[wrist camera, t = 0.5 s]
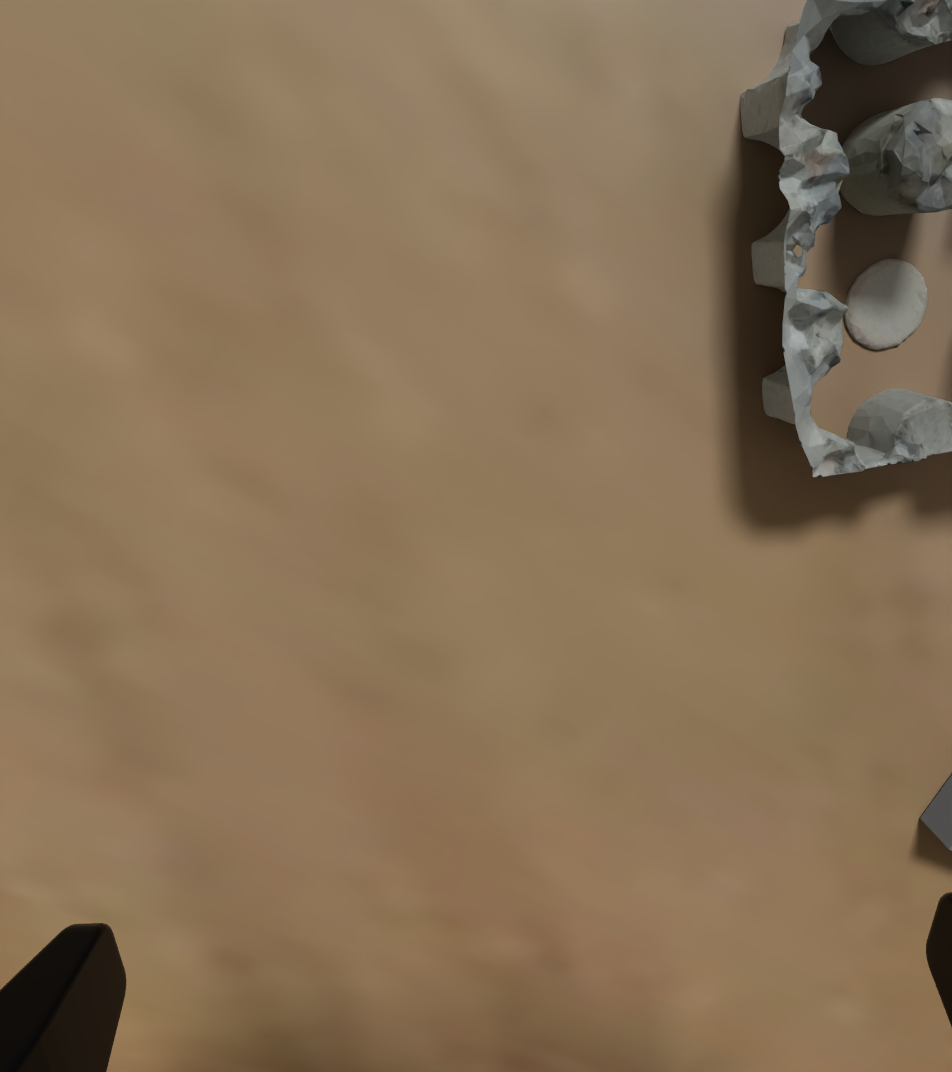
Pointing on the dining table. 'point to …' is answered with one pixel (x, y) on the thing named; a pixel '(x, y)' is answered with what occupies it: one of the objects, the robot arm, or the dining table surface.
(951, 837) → the shelf board
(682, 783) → the dining table surface
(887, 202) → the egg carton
